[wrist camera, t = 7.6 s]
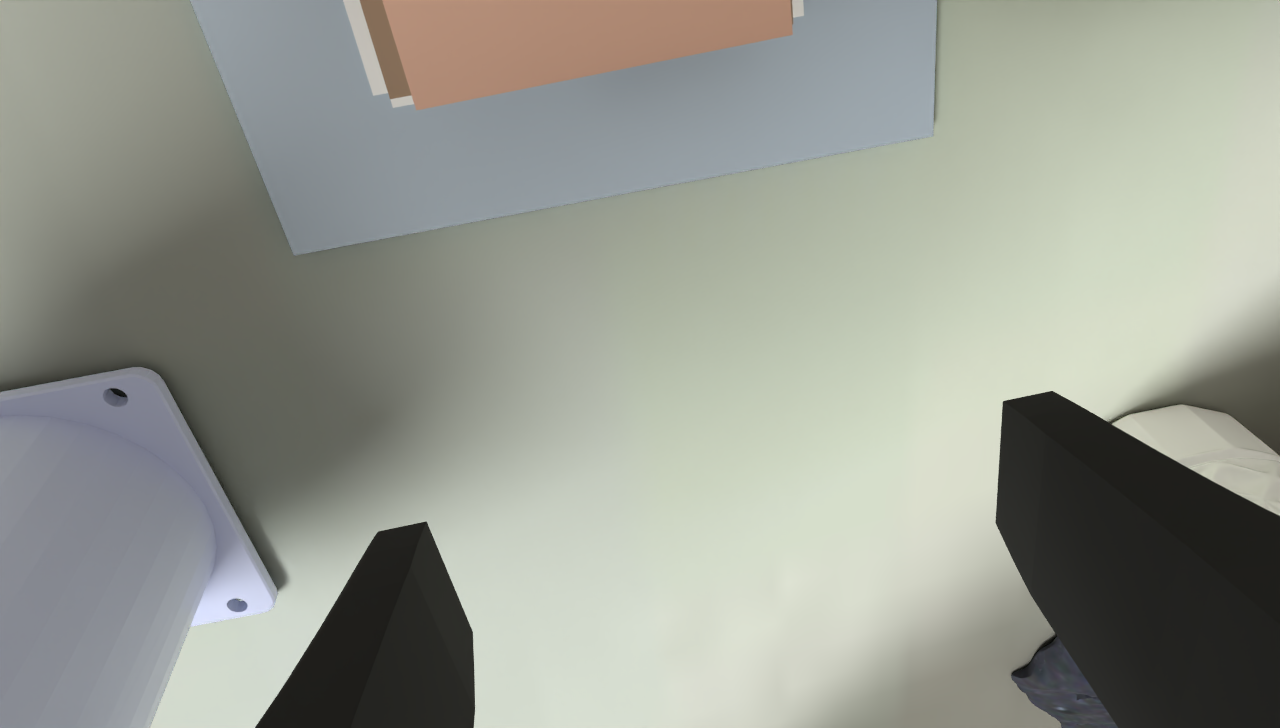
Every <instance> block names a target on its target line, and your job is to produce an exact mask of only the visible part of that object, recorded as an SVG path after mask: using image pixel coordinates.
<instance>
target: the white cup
mask: <svg viewBox="0 0 1280 728" xmlns="http://www.w3.org/2000/svg"><path fill="white" fill-rule="evenodd" d="M1112 425H1114V426H1115V427H1117V428H1119V429H1121V430H1122V431H1124V432H1126V433H1128V434H1129V435H1131V436H1133V437H1135V438H1136V439H1138V440H1140V441H1142V442H1143V443H1145V444H1147V445H1149V446H1150V447H1152V448H1154V449H1156V450H1157V451H1159V452H1161V453H1163V454H1164V455H1166V456H1168V457H1170V458H1172V459H1173V460H1175V461H1177V462H1179V463H1180V464H1182V465H1184V466H1186V467H1188V468H1189V469H1191V470H1193V471H1195V472H1197V473H1199V474H1200V475H1202V476H1204V477H1206V478H1208V479H1210V480H1211V481H1213V482H1215V483H1217V484H1219V485H1221V486H1223V487H1225V488H1226V489H1228V490H1230V491H1232V492H1234V493H1236V494H1238V495H1240V496H1242V497H1244V498H1246V499H1247V500H1249V501H1251V502H1253V503H1255V504H1257V505H1259V506H1261V507H1263V508H1265V509H1267V510H1269V511H1271V512H1273V513H1275V514H1277V515H1279V516H1280V456H1279V455H1278V454H1277V453H1276V452H1274V451H1273V450H1272V449H1271V448H1270V447H1268V446H1267V445H1266V444H1265V443H1263V442H1262V441H1261V440H1260V439H1259V438H1257V437H1256V436H1255V435H1254V434H1252V433H1251V432H1250V431H1249V430H1248V429H1246V428H1245V427H1244V426H1243V425H1241V424H1240V423H1239V422H1238V421H1237V420H1235V419H1234V418H1233V417H1231V416H1230V415H1228V414H1226V413H1222V412H1218V411H1213V410H1208V409H1203V408H1198V407H1193V406H1189V405H1184V404H1180V405H1174V406H1169V407H1164V408H1159V409H1154V410H1149V411H1144V412H1139V413H1134V414H1130V415H1127V416H1125V417H1123V418H1121V419H1119V420H1118V421H1116V422H1114V423H1112Z"/></svg>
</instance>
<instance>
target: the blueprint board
mask: <svg viewBox="0 0 1280 728" xmlns="http://www.w3.org/2000/svg"><path fill="white" fill-rule="evenodd" d="M190 2H191V5H192V7H193V10H194V12H195V15H196V17H197V19H198V22H199V24H200V27H201V29H202V32H203V34H204V37H205V39H206V42H207V44H208V46H209V49H210V51H211V54H212V56H213V59H214V61H215V64H216V66H217V69H218V71H219V73H220V76H221V78H222V81H223V83H224V86H225V88H226V91H227V93H228V96H229V98H230V100H231V103H232V105H233V108H234V110H235V113H236V115H237V118H238V120H239V123H240V125H241V127H242V130H243V132H244V135H245V137H246V140H247V142H248V145H249V147H250V150H251V152H252V154H253V157H254V159H255V162H256V164H257V167H258V169H259V172H260V174H261V177H262V179H263V181H264V184H265V186H266V189H267V191H268V194H269V196H270V199H271V201H272V204H273V206H274V208H275V211H276V213H277V216H278V218H279V221H280V223H281V226H282V228H283V230H284V233H285V235H286V238H287V240H288V243H289V245H290V248H291V250H292V253H293V255H294V256H295V255H300V254H306V253H311V252H317V251H322V250H327V249H333V248H338V247H343V246H349V245H354V244H359V243H365V242H370V241H375V240H381V239H386V238H391V237H397V236H402V235H408V234H413V233H418V232H424V231H429V230H434V229H440V228H445V227H450V226H456V225H461V224H466V223H472V222H477V221H482V220H488V219H493V218H498V217H504V216H509V215H515V214H520V213H525V212H531V211H536V210H541V209H547V208H552V207H557V206H563V205H568V204H573V203H579V202H584V201H589V200H595V199H600V198H606V197H611V196H616V195H622V194H627V193H632V192H638V191H643V190H648V189H654V188H659V187H664V186H670V185H675V184H680V183H686V182H691V181H696V180H702V179H707V178H713V177H718V176H723V175H729V174H734V173H739V172H745V171H750V170H755V169H761V168H766V167H771V166H777V165H782V164H787V163H793V162H798V161H804V160H809V159H814V158H820V157H825V156H830V155H836V154H841V153H846V152H852V151H857V150H862V149H868V148H873V147H878V146H884V145H889V144H894V143H900V142H905V141H911V140H916V139H921V138H927V137H932V136H933V127H934V92H935V57H936V22H937V0H792V8H793V25H792V30H793V35H790V36H785V37H780V38H775V39H770V40H765V41H760V42H755V43H750V44H745V45H740V46H735V47H730V48H725V49H720V50H715V51H710V52H705V53H700V54H695V55H690V56H685V57H680V58H675V59H670V60H665V61H660V62H655V63H651V64H646V65H641V66H636V67H631V68H626V69H621V70H616V71H611V72H606V73H601V74H596V75H591V76H586V77H581V78H576V79H571V80H566V81H561V82H556V83H551V84H546V85H541V86H536V87H531V88H526V89H521V90H516V91H511V92H506V93H501V94H496V95H491V96H486V97H481V98H476V99H471V100H466V101H461V102H456V103H451V104H446V105H441V106H436V107H431V108H426V109H422V110H417V111H416V108H415V105H414V102H413V98H412V95H411V96H405V97H400V98H394V99H390V98H389V94H388V91H387V88H386V85H385V81H384V78H383V75H382V72H381V68H380V65H379V62H378V59H377V55H376V52H375V49H374V46H373V42H372V39H371V36H370V33H369V29H368V26H367V23H366V20H365V16H364V13H363V10H362V7H361V3H360V0H190Z"/></svg>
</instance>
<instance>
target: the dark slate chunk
mask: <svg viewBox="0 0 1280 728" xmlns="http://www.w3.org/2000/svg"><path fill="white" fill-rule="evenodd" d="M1011 676H1012V680H1013V681H1014V682H1015V683H1016V684H1017V686H1018V687H1019V688H1020V690H1021V691H1022V692H1024V693H1026V694H1027V696H1028V698H1029V700H1030V701H1031V702H1032V703H1033V704H1034V705H1035V706H1037V707H1038V708H1040V709H1041V710H1043V711H1045V712H1047V713H1048V714H1049V715H1051V716H1053V717H1055V718H1056V719H1057V720H1058V721H1060V723H1061V727H1062V728H1118V727H1117V725H1116V724H1115V722H1114V721H1113V719H1112V718H1111V716H1110V715H1109V713H1108V712H1107V710H1106V709H1105V707H1104V706H1103V704H1102V703H1101V701H1100V700H1099V698H1098V697H1097V695H1096V694H1095V692H1094V691H1093V689H1092V688H1091V686H1090V684H1089V683H1088V681H1087V680H1086V678H1085V677H1084V675H1083V674H1082V672H1081V671H1080V669H1079V668H1078V666H1077V665H1076V663H1075V662H1074V660H1073V659H1072V657H1071V656H1070V654H1069V653H1068V651H1067V650H1066V648H1065V647H1064V645H1063V644H1062V642H1061V641H1060V639H1059V638H1058V636H1057V637H1056V638H1055V640H1054V641H1053V642H1052V643H1050V644H1049V645H1047V646H1045V647H1043V648H1042V649H1040V650H1039V651H1038V652H1037V653H1036V654H1035V655H1034V657H1033V658H1032V660H1031V662H1030V663H1029V665H1028V666H1027V667H1026V668H1024V669H1022V670H1019V671H1016V672H1014V673H1013V674H1012V675H1011Z"/></svg>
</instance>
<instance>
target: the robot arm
mask: <svg viewBox="0 0 1280 728" xmlns="http://www.w3.org/2000/svg"><path fill="white" fill-rule="evenodd" d="M110 388H117V389H119V390H122V391H123V392H124V393H125V394H126V395H127V397H120V396H118V395H115V394H114V393H113V392H112V391H111V390H110ZM996 525H997V527H998V529H999V531H1000V533H1001V535H1002V537H1003V540H1004V542H1005V544H1006V546H1007V548H1008V550H1009V552H1010V554H1011V556H1012V559H1013V561H1014V563H1015V565H1016V567H1017V569H1018V571H1019V573H1020V575H1021V577H1022V579H1023V580H1024V582H1025V584H1026V586H1027V588H1028V590H1029V592H1030V594H1031V596H1032V597H1033V599H1034V601H1035V602H1036V604H1037V605H1038V607H1039V608H1040V610H1041V612H1042V613H1043V615H1044V616H1045V618H1046V619H1047V621H1048V622H1049V624H1050V625H1051V627H1052V628H1053V630H1054V632H1055V633H1056V635H1057V636H1058V638H1059V639H1060V641H1061V642H1062V644H1063V645H1064V647H1065V648H1066V650H1067V651H1068V653H1069V654H1070V656H1071V657H1072V659H1073V660H1074V662H1075V663H1076V665H1077V666H1078V668H1079V669H1080V671H1081V672H1082V674H1083V675H1084V677H1085V678H1086V680H1087V681H1088V683H1089V684H1090V686H1091V688H1092V689H1093V691H1094V692H1095V694H1096V695H1097V697H1098V698H1099V700H1100V701H1101V703H1102V704H1103V706H1104V707H1105V709H1106V710H1107V712H1108V713H1109V715H1110V716H1111V718H1112V719H1113V721H1114V722H1115V724H1116V725H1117V727H1118V728H1280V516H1279V515H1277V514H1275V513H1273V512H1271V511H1269V510H1267V509H1265V508H1263V507H1261V506H1259V505H1257V504H1255V503H1253V502H1251V501H1249V500H1247V499H1246V498H1244V497H1242V496H1240V495H1238V494H1236V493H1234V492H1232V491H1230V490H1228V489H1226V488H1225V487H1223V486H1221V485H1219V484H1217V483H1215V482H1213V481H1211V480H1210V479H1208V478H1206V477H1204V476H1202V475H1200V474H1199V473H1197V472H1195V471H1193V470H1191V469H1189V468H1188V467H1186V466H1184V465H1182V464H1180V463H1179V462H1177V461H1175V460H1173V459H1172V458H1170V457H1168V456H1166V455H1164V454H1163V453H1161V452H1159V451H1157V450H1156V449H1154V448H1152V447H1150V446H1149V445H1147V444H1145V443H1143V442H1142V441H1140V440H1138V439H1136V438H1135V437H1133V436H1131V435H1129V434H1128V433H1126V432H1124V431H1122V430H1121V429H1119V428H1117V427H1115V426H1114V425H1112V424H1110V423H1109V422H1107V421H1105V420H1103V419H1102V418H1100V417H1098V416H1096V415H1095V414H1093V413H1091V412H1089V411H1088V410H1086V409H1084V408H1082V407H1081V406H1079V405H1077V404H1075V403H1073V402H1072V401H1070V400H1068V399H1066V398H1064V397H1062V396H1061V395H1059V394H1057V393H1055V392H1053V391H1050V392H1045V393H1040V394H1035V395H1031V396H1026V397H1021V398H1016V399H1011V400H1007V401H1003V410H1002V426H1001V443H1000V460H999V476H998V493H997V510H996ZM277 595H278V592H277V588H276V587H275V585H274V583H273V581H272V579H271V577H270V575H269V574H268V572H267V570H266V568H265V566H264V564H263V563H262V561H261V559H260V557H259V555H258V553H257V552H256V550H255V548H254V546H253V544H252V542H251V541H250V539H249V537H248V535H247V533H246V531H245V529H244V528H243V526H242V524H241V522H240V520H239V518H238V517H237V515H236V513H235V511H234V509H233V507H232V506H231V504H230V502H229V500H228V498H227V496H226V494H225V493H224V491H223V489H222V487H221V485H220V483H219V482H218V480H217V478H216V476H215V474H214V472H213V471H212V469H211V467H210V465H209V463H208V461H207V459H206V458H205V456H204V454H203V452H202V450H201V448H200V447H199V445H198V443H197V441H196V439H195V437H194V436H193V434H192V432H191V430H190V428H189V426H188V425H187V423H186V421H185V419H184V417H183V415H182V413H181V412H180V410H179V408H178V406H177V404H176V402H175V401H174V399H173V397H172V395H171V393H170V391H169V390H168V388H167V386H166V384H165V382H164V381H163V379H162V378H161V377H160V376H159V374H157V373H155V372H154V371H152V370H150V369H147V368H143V367H131V368H126V369H120V370H115V371H110V372H104V373H99V374H94V375H88V376H83V377H78V378H72V379H67V380H62V381H56V382H51V383H46V384H40V385H35V386H30V387H24V388H19V389H14V390H8V391H3V392H0V728H150V726H151V723H152V721H153V718H154V716H155V713H156V711H157V708H158V706H159V703H160V701H161V698H162V696H163V693H164V691H165V688H166V686H167V683H168V681H169V678H170V676H171V673H172V671H173V668H174V666H175V663H176V661H177V658H178V656H179V653H180V651H181V648H182V646H183V643H184V641H185V638H186V636H187V633H188V631H189V628H190V627H191V626H196V625H202V624H207V623H212V622H218V621H223V620H228V619H233V618H239V617H244V616H249V615H255V614H260V613H264V612H267V611H270V610H271V609H272V608H273V607H274V605H275V602H276V599H277ZM236 599H241V600H244V601H238V600H236ZM474 715H475V688H474V655H473V632H472V629H471V627H470V624H469V622H468V620H467V617H466V615H465V613H464V610H463V608H462V605H461V603H460V601H459V598H458V596H457V593H456V591H455V589H454V586H453V584H452V581H451V579H450V577H449V574H448V572H447V570H446V567H445V565H444V562H443V560H442V558H441V555H440V553H439V550H438V548H437V546H436V543H435V541H434V538H433V536H432V534H431V531H430V529H429V526H428V524H427V522H422V523H417V524H413V525H408V526H403V527H398V528H393V529H389V530H384V531H379V532H378V533H377V534H376V535H375V537H374V538H373V540H372V541H371V543H370V545H369V546H368V548H367V550H366V551H365V553H364V555H363V556H362V558H361V560H360V561H359V563H358V565H357V566H356V568H355V570H354V572H353V573H352V575H351V577H350V578H349V580H348V582H347V584H346V585H345V587H344V589H343V590H342V592H341V594H340V595H339V597H338V599H337V601H336V602H335V604H334V606H333V607H332V609H331V611H330V612H329V614H328V616H327V617H326V619H325V621H324V622H323V624H322V626H321V627H320V629H319V630H318V632H317V634H316V635H315V637H314V638H313V640H312V642H311V643H310V645H309V646H308V648H307V650H306V651H305V653H304V654H303V656H302V658H301V659H300V661H299V662H298V664H297V666H296V667H295V669H294V670H293V672H292V674H291V675H290V677H289V678H288V680H287V681H286V683H285V684H284V686H283V688H282V689H281V691H280V692H279V694H278V695H277V697H276V698H275V700H274V701H273V702H272V704H271V705H270V707H269V708H268V710H267V711H266V713H265V714H264V715H263V717H262V718H261V720H260V721H259V723H258V724H257V726H256V727H255V728H473V727H474Z"/></svg>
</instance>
